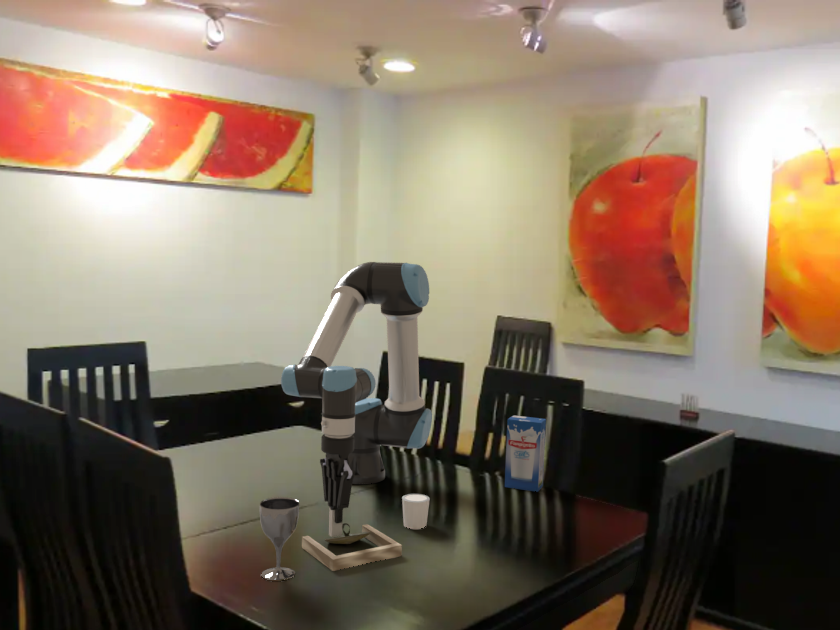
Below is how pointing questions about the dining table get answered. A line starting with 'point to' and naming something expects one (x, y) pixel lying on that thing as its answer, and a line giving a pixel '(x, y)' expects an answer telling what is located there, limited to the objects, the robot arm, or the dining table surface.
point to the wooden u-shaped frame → (333, 562)
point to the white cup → (415, 510)
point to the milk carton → (525, 453)
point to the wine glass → (279, 530)
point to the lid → (347, 537)
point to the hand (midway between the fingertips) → (335, 534)
